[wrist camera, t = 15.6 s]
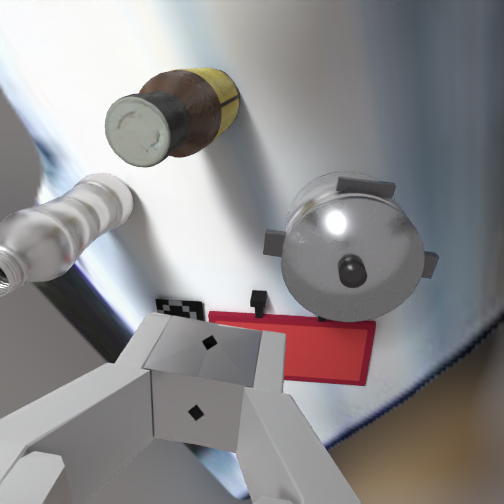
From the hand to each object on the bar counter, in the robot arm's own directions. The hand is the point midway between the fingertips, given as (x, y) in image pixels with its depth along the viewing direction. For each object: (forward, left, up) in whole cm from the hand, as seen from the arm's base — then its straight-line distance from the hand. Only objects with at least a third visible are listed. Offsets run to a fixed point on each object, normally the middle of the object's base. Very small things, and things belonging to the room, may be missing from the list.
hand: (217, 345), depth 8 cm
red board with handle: (+28, +1, -35) cm, 45 cm away
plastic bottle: (+10, -20, -34) cm, 41 cm away
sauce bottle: (-2, -8, -34) cm, 35 cm away
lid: (+10, +8, -25) cm, 28 cm away
